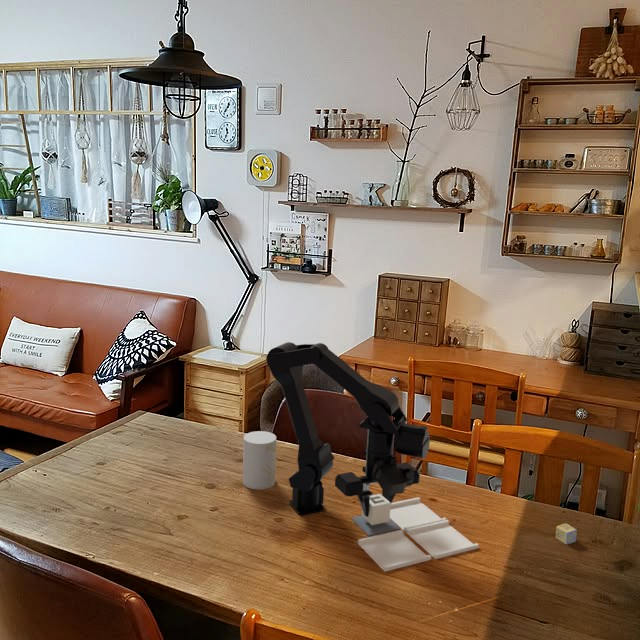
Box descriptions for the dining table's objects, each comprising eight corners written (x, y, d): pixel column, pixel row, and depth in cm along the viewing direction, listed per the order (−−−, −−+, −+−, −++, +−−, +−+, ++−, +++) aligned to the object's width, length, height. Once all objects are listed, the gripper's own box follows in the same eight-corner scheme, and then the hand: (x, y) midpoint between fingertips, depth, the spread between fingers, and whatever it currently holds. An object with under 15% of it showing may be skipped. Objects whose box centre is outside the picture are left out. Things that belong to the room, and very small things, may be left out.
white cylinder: (270, 491, 158) (271, 445, 155) (238, 487, 159) (239, 441, 157) (278, 477, 165) (280, 433, 163) (248, 473, 167) (249, 429, 165)
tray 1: (405, 532, 141) (405, 528, 141) (379, 509, 151) (379, 505, 151) (445, 522, 146) (446, 518, 146) (418, 501, 156) (418, 497, 156)
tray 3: (384, 572, 126) (384, 567, 126) (357, 543, 136) (357, 539, 136) (430, 560, 131) (431, 556, 131) (401, 533, 141) (402, 529, 141)
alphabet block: (565, 545, 139) (567, 532, 138) (554, 538, 142) (556, 525, 141) (575, 542, 140) (577, 529, 140) (564, 535, 143) (566, 522, 143)
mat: (368, 537, 139) (368, 535, 139) (351, 519, 146) (351, 517, 146) (399, 529, 142) (400, 528, 142) (381, 513, 149) (381, 511, 149)
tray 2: (435, 559, 131) (435, 555, 131) (406, 533, 141) (406, 529, 141) (478, 548, 136) (478, 544, 136) (447, 523, 146) (447, 519, 146)
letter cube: (371, 525, 141) (373, 506, 140) (361, 515, 145) (362, 496, 144) (389, 521, 143) (390, 502, 142) (379, 511, 147) (380, 493, 146)
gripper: (360, 470, 129) (356, 540, 133) (436, 456, 137) (431, 523, 141) (335, 449, 139) (332, 515, 142) (408, 437, 147) (403, 500, 150)
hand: (375, 513), depth 144 cm, fingers closed on letter cube, 4 cm apart
